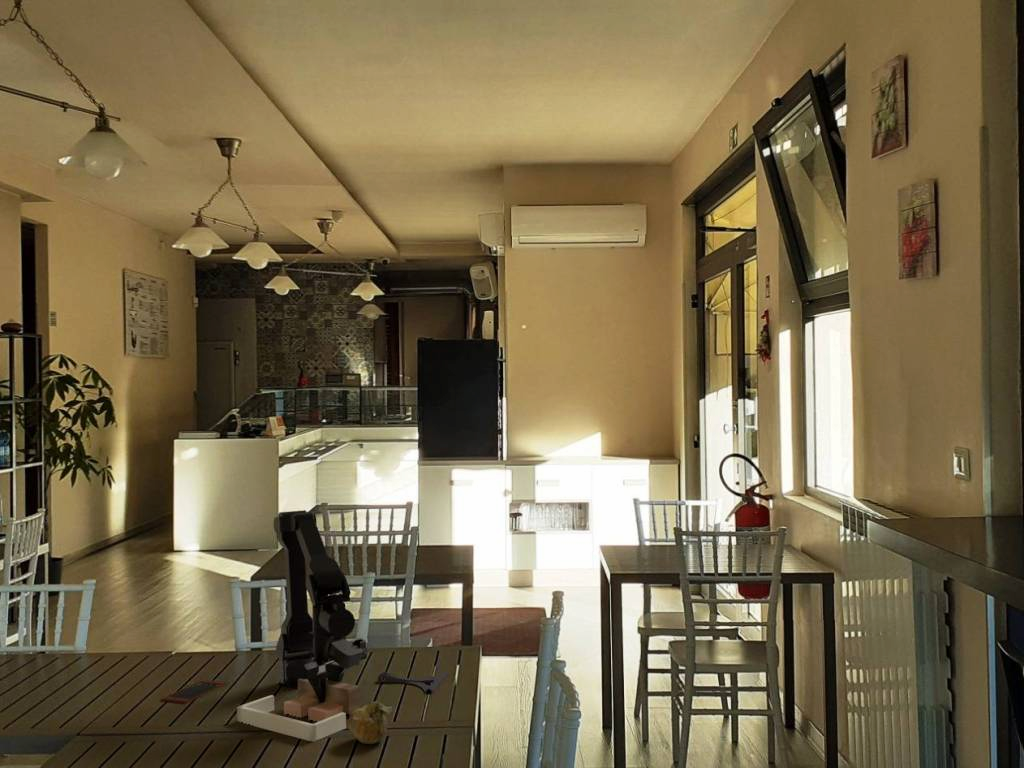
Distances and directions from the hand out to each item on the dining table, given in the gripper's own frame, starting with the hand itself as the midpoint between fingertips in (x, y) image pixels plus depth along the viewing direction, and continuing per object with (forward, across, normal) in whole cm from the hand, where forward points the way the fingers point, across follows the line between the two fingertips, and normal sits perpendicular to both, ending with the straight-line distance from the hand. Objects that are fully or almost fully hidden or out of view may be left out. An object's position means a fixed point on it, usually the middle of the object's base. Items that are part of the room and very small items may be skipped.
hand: (328, 700), depth 213 cm
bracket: (+3, +24, -2) cm, 24 cm away
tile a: (+2, -4, +4) cm, 6 cm away
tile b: (+2, -4, -3) cm, 6 cm away
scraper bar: (+1, 0, 0) cm, 1 cm away
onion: (+2, -9, -20) cm, 22 cm away
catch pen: (+2, -10, 0) cm, 11 cm away
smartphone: (+3, -7, +35) cm, 36 cm away
